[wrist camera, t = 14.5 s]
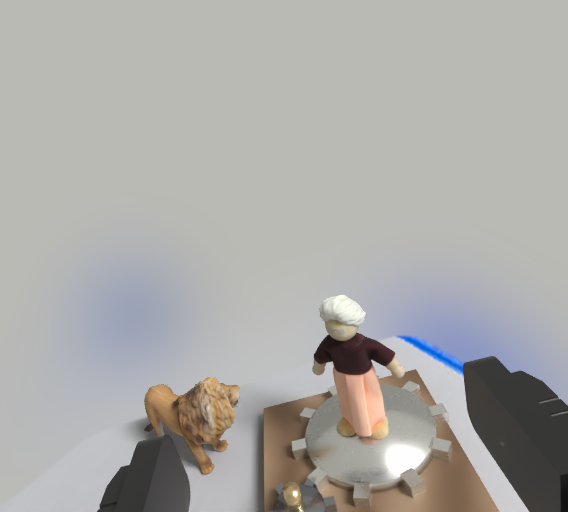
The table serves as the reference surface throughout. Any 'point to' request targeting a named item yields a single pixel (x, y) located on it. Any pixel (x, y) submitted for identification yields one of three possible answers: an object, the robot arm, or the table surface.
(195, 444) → the lion figurine
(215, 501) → the table surface
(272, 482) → the gear board
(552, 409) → the robot arm
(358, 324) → the grandmother figurine
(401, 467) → the gear
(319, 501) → the gear
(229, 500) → the table surface
